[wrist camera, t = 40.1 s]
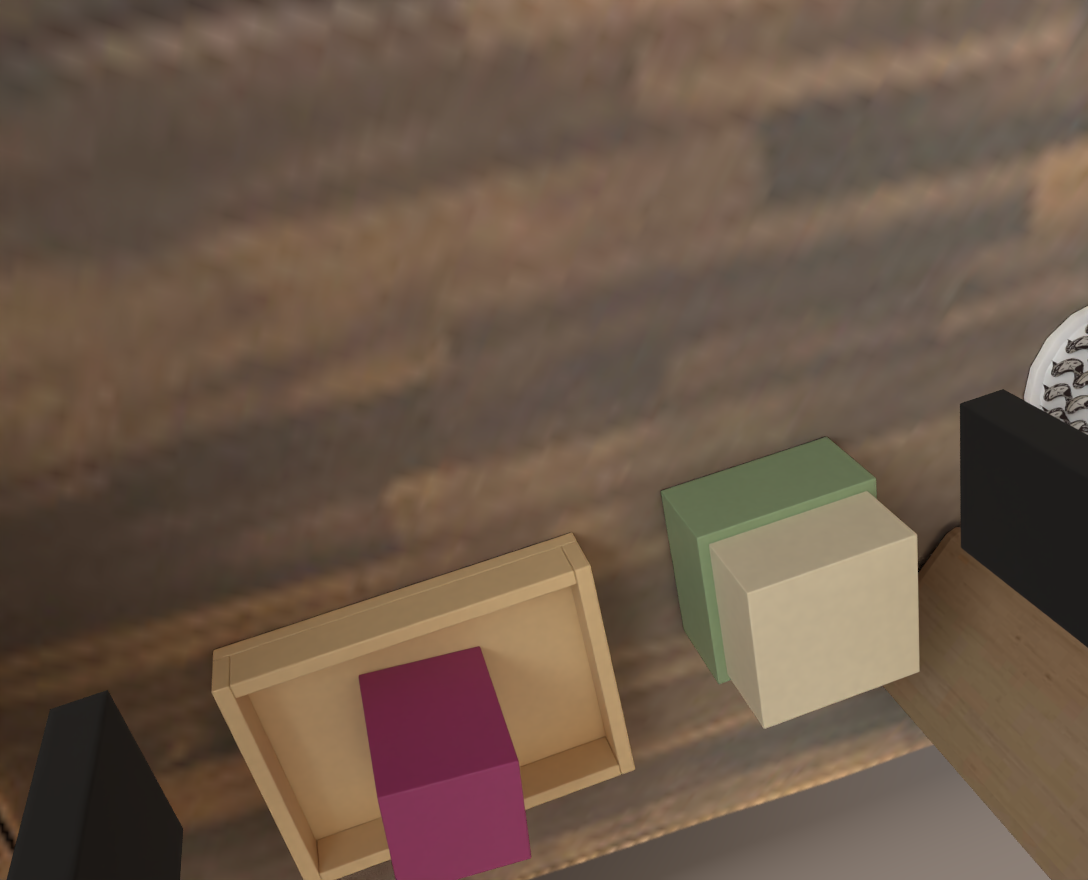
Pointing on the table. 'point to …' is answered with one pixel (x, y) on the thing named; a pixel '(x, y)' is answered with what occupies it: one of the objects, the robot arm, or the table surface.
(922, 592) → the wooden block
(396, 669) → the mulberry block
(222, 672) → the tray
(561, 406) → the table surface
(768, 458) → the sage block
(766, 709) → the cream block
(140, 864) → the robot arm
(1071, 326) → the leaning tower model
